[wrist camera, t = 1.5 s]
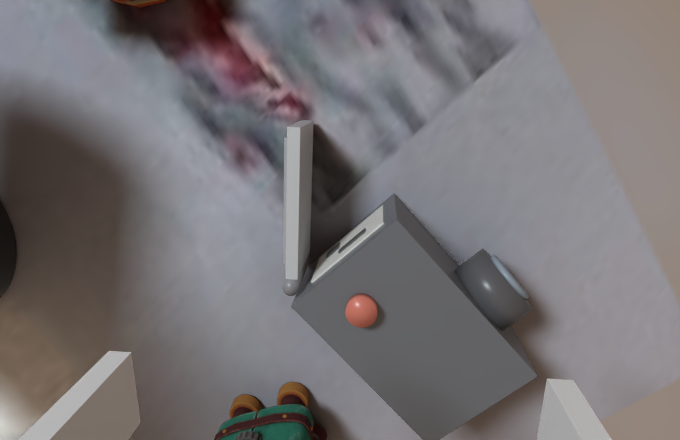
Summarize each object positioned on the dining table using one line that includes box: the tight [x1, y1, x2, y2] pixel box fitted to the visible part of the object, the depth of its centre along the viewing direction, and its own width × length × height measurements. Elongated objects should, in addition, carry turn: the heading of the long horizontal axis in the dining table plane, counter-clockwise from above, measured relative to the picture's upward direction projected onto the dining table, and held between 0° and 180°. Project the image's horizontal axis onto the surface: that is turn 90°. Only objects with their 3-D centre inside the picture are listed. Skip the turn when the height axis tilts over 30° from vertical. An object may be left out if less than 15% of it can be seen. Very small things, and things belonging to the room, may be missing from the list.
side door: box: [283, 120, 314, 296], centre depth 32 cm, size 1×11×6 cm, turn 177°
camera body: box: [291, 194, 538, 440], centre depth 32 cm, size 14×12×8 cm
